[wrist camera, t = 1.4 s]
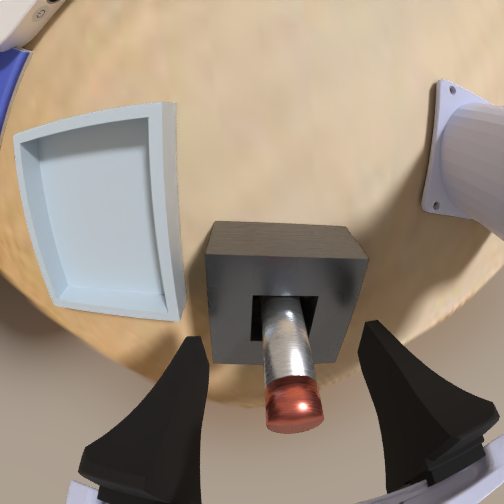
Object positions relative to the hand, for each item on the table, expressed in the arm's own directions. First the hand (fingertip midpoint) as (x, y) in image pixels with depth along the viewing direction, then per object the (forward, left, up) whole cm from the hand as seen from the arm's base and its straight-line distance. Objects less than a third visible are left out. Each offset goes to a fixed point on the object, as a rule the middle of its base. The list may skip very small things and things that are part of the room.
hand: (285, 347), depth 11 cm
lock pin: (0, 0, -5) cm, 5 cm away
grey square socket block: (0, 0, -5) cm, 5 cm away
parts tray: (+10, -4, -5) cm, 12 cm away
